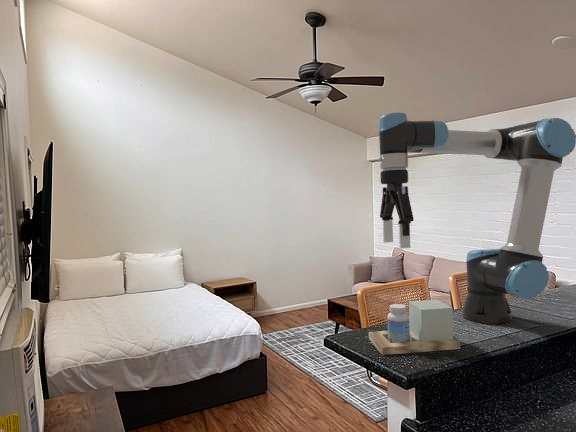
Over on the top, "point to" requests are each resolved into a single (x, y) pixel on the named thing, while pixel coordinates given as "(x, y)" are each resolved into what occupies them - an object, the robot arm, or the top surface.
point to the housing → (431, 320)
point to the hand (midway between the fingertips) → (396, 245)
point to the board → (409, 344)
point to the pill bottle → (398, 324)
